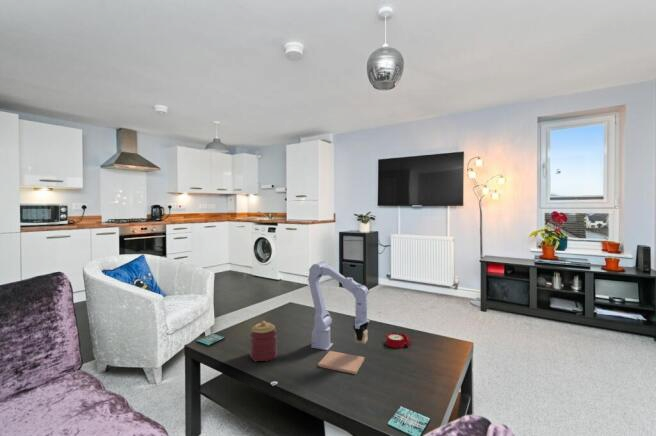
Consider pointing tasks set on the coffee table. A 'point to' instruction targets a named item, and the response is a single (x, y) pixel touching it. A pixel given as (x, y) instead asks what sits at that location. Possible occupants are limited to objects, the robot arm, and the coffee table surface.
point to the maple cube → (364, 338)
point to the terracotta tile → (341, 362)
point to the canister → (263, 342)
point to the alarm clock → (397, 340)
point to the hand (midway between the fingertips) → (361, 337)
